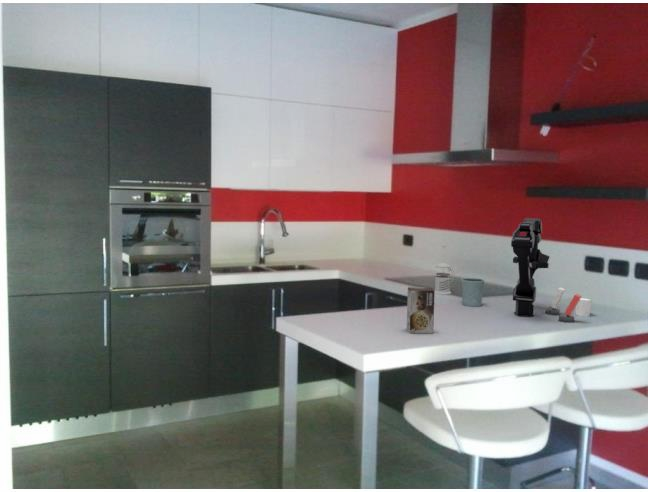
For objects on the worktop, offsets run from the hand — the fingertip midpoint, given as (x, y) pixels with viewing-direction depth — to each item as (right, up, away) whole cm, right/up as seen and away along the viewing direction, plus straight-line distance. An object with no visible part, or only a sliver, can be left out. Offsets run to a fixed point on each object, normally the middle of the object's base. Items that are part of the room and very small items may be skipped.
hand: (529, 281), depth 267 cm
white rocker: (+8, -12, -5) cm, 15 cm away
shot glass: (+21, -15, -5) cm, 26 cm away
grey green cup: (-23, -12, +12) cm, 28 cm away
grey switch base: (+8, -14, -5) cm, 17 cm away
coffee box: (-56, -16, -44) cm, 73 cm away
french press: (-29, -9, +46) cm, 55 cm away
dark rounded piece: (+9, -15, -19) cm, 26 cm away
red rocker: (+9, -13, -19) cm, 25 cm away
